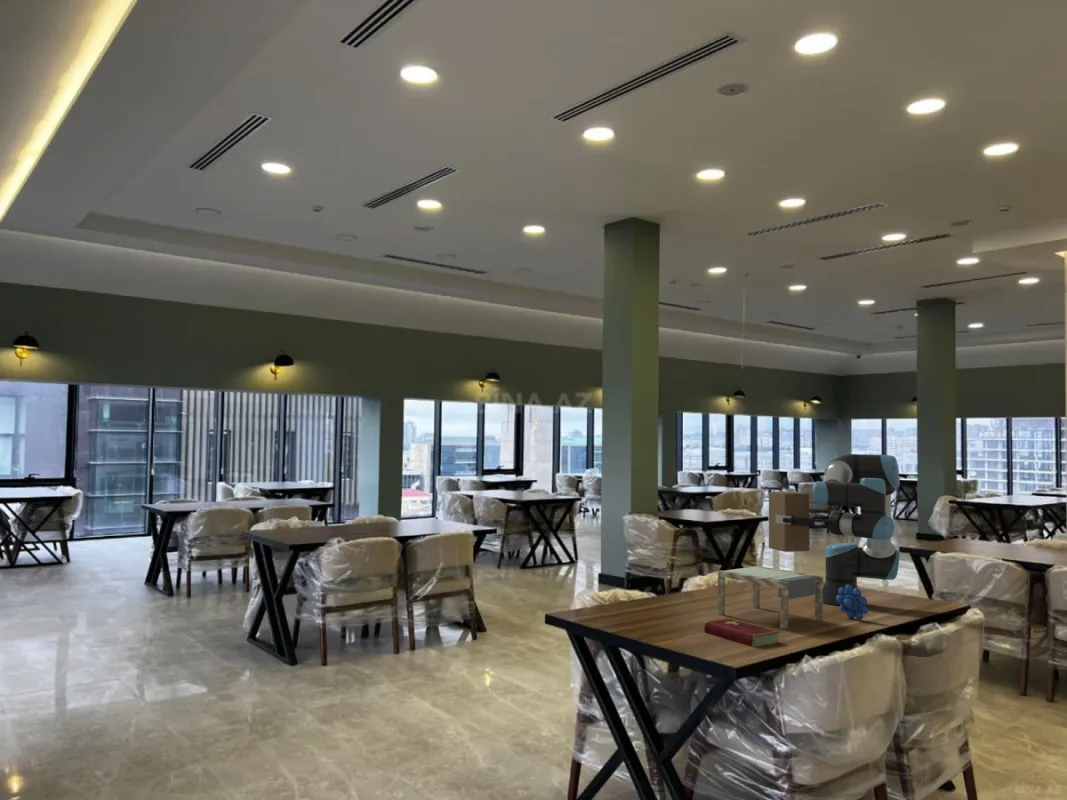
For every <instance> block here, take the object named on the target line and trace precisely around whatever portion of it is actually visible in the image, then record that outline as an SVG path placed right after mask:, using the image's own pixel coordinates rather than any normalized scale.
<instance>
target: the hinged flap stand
mask: <svg viewBox="0 0 1067 800" xmlns="http://www.w3.org/2000/svg"><path fill="white" fill-rule="evenodd" d="M752 567H760V568H766V569H772V570H778V571H784V572H790V573H798V574H799V575H805V576H811V577H815V594H814V598H815V599H814V621H815V622H819V621H821V622H823V618H824V616H823V615H824V614H823V613H824V612H823V610H824V603H823V587H824V576H821V575H815V574H809V573H802V572H797V571H790V570H785V569H778V568H771V567H765V566H760V565H753V566H752ZM726 579H730V580H735V581H742V582H746V583H752V608H754V609H760V608H761V585H762V586H763V585H764V586H767V587H773V588H778V589H779V588H781V598H780V607H779V608H780V612H779V613H780V615H779V620H780V624H779V627H780V628H779V629H781V628H783V629H782V630H785V629H786V630H789V600H790V599H789V582H784V581H778V580H773V579H767V578H761V577H755V576H750V575H744V574H738V573H733V572H727V571H726V570H718V571H717V615H719V614H720V615H719V616H725V614H726Z"/></svg>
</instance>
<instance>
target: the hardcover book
mask: <svg viewBox="0 0 1067 800" xmlns="http://www.w3.org/2000/svg"><path fill="white" fill-rule="evenodd" d="M703 633H705V634H708V635H711V634H712V636H715V637H719V638H721V637H722V638H721V639H724V640H728V641H732V642H735V641H736V643H739V644H742V645H745V646H748V645H749V646H748V647H752V646H753V647H752V648H755V647H761V646H765V645H766V644H767V645H771V644H772V645H773V644H777V643H776V642H778V643H779V633H781V631H780V630H777V629H776V630H775V629H773V628H770V627H765V626H761V625H759V624H754V623H750V622H747V621H743V620H739V619H736V618H731V617H727V618H720V619H713V620H705V621H704V622H703ZM760 645H761V646H760Z"/></svg>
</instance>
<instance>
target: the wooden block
mask: <svg viewBox="0 0 1067 800" xmlns="http://www.w3.org/2000/svg"><path fill="white" fill-rule="evenodd" d="M809 514H810V493H809V492H800V491H792V490H791V491H787V490H785V491H779V490H778V491H775V490H774V491H769V492H768V548H769V549H771V550H776V551H780V552H785V553H792V552H809V551H810V527H809V526H794V525H793V526H791V525H790V524H781V523H776V515H782V516H792V515H794V517H797V518H809Z"/></svg>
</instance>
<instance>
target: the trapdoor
mask: <svg viewBox="0 0 1067 800" xmlns="http://www.w3.org/2000/svg"><path fill="white" fill-rule="evenodd" d="M760 567H761V566H760ZM760 567H753V566H749V567H743V568H741V567H740V568H735V569H728V570H725V571H727V572H733V573H738V574H744V575H750V576H755V577H761V578H767V579H773V580H778V581H784V582H789V599H788V600H792V599H798V598H803V597H804V598H805V597H807V596H808V597H809V596H813V595H814V596H815V577H811V576H805V575H799V574H798V573H799V572H797V573H790V572H784V571H778V570H772V569H766V568H760ZM778 598H779V599H781V588H779V587H778Z"/></svg>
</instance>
